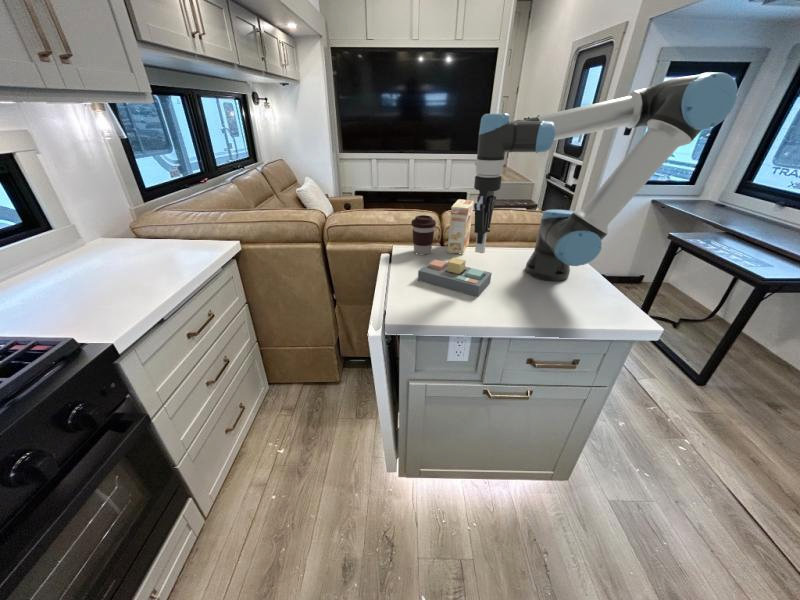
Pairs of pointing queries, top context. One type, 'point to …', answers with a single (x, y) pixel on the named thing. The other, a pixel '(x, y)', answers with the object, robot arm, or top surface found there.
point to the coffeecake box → (460, 226)
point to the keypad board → (454, 280)
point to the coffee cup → (423, 233)
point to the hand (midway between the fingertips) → (479, 251)
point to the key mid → (456, 265)
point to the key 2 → (475, 274)
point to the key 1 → (438, 265)
